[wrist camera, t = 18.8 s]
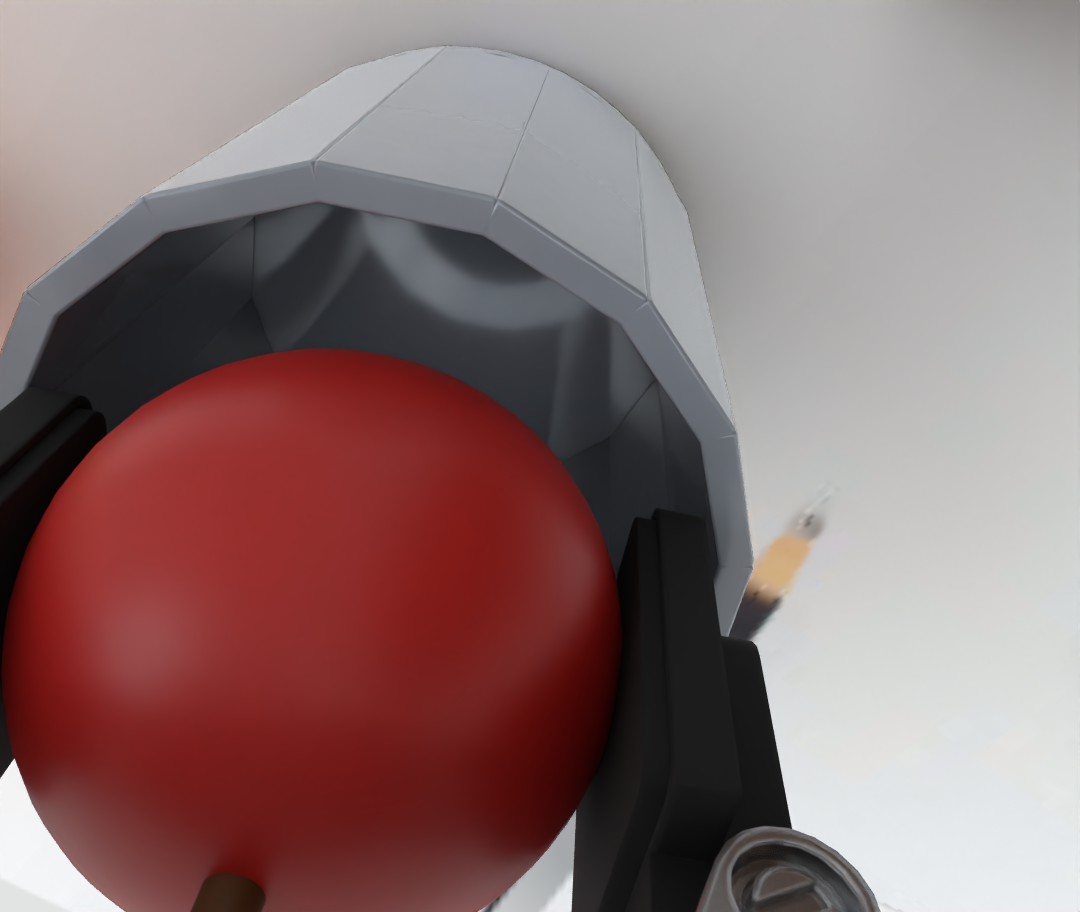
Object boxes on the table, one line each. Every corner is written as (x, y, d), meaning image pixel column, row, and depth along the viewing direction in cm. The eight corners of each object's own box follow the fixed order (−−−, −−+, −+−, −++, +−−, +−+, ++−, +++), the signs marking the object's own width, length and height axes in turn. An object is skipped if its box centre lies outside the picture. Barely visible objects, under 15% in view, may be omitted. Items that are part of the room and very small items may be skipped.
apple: (160, 219, 11) (-361, 577, 5) (673, 323, 11) (733, 783, 5) (164, 621, 14) (-163, 1139, 8) (571, 698, 14) (537, 1259, 8)
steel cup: (251, -3, 17) (-69, 82, 9) (750, 102, 17) (862, 272, 9) (237, 437, 21) (15, 751, 13) (634, 514, 21) (643, 866, 14)
